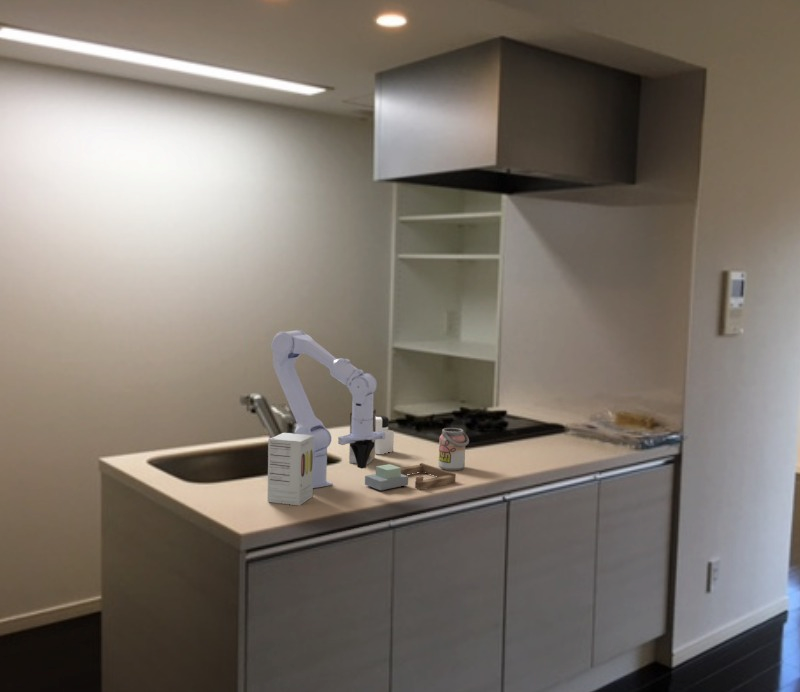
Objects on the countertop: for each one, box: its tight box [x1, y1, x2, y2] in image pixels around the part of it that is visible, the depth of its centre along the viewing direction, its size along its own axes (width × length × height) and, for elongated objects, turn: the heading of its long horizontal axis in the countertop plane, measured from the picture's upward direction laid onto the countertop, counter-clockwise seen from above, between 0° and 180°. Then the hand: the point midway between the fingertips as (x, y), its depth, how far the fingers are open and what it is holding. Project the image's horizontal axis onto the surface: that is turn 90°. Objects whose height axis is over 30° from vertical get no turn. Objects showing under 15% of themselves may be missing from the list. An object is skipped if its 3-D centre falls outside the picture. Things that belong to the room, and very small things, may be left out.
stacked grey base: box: [364, 463, 409, 492], centre depth 225 cm, size 10×7×6 cm
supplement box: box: [267, 432, 314, 507], centre depth 210 cm, size 10×9×17 cm
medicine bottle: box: [375, 415, 395, 455], centre depth 267 cm, size 7×7×12 cm
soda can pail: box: [438, 427, 470, 472], centre depth 248 cm, size 9×8×12 cm
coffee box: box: [348, 408, 377, 465], centre depth 254 cm, size 9×6×16 cm
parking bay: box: [400, 462, 457, 491], centre depth 233 cm, size 14×16×4 cm
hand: (361, 467), depth 219 cm, fingers closed
